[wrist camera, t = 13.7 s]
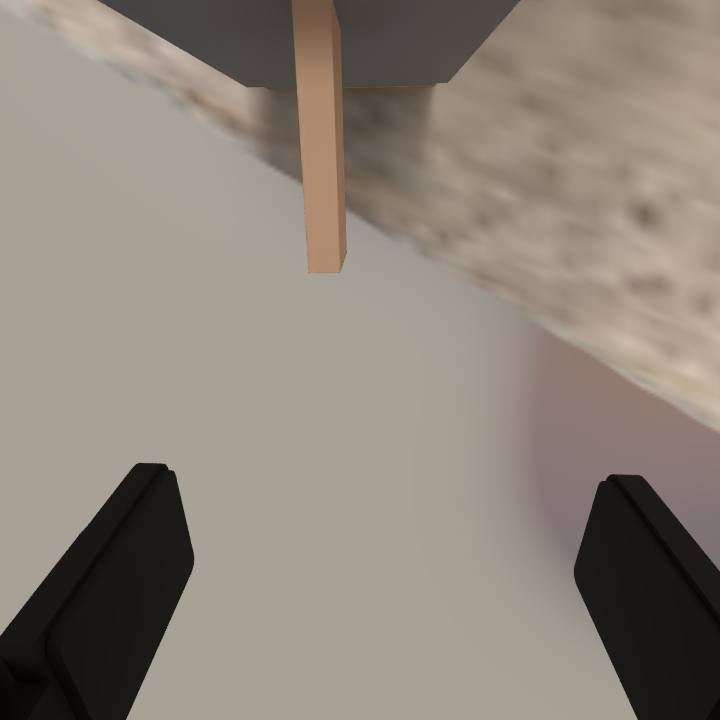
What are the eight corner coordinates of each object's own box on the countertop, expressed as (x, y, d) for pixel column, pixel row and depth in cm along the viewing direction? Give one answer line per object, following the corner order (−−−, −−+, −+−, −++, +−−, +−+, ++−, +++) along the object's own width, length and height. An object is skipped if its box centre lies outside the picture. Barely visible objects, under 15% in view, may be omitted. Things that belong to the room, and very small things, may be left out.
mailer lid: (-26, -167, 9) (98, 302, 14) (604, -196, 9) (531, 300, 13) (243, 53, 28) (260, 221, 33) (449, 48, 28) (440, 219, 32)
